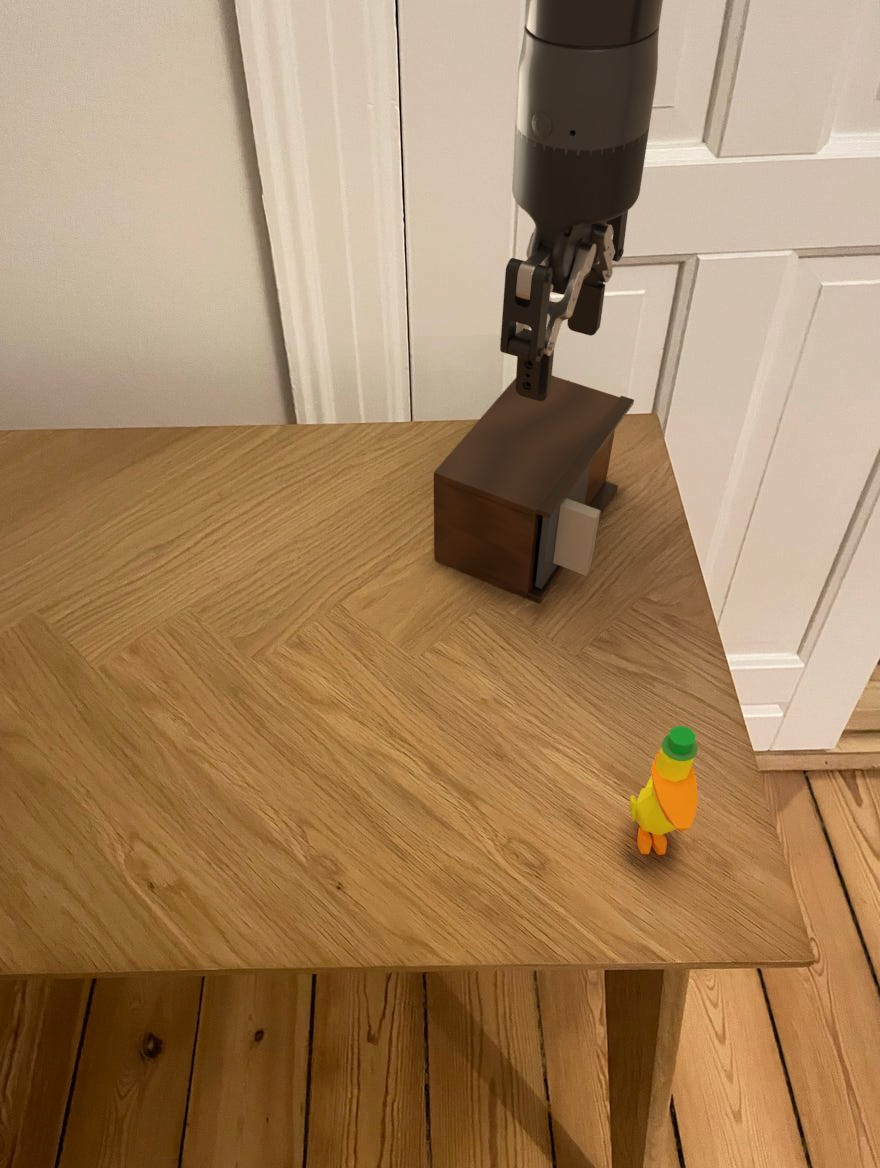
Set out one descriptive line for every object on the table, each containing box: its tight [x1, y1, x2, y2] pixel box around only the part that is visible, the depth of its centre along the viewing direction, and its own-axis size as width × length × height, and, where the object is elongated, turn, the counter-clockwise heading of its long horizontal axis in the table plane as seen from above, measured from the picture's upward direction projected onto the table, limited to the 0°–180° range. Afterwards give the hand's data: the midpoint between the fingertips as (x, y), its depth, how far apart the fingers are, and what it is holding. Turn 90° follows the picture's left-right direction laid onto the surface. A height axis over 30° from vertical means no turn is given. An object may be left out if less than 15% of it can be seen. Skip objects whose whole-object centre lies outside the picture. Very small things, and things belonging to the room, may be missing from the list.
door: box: [535, 463, 601, 589], centre depth 79 cm, size 4×8×8 cm, turn 149°
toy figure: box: [628, 725, 699, 856], centre depth 62 cm, size 7×4×12 cm, turn 179°
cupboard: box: [433, 375, 635, 604], centre depth 83 cm, size 10×16×10 cm, turn 149°
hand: (558, 361), depth 67 cm, fingers open, 8 cm apart
